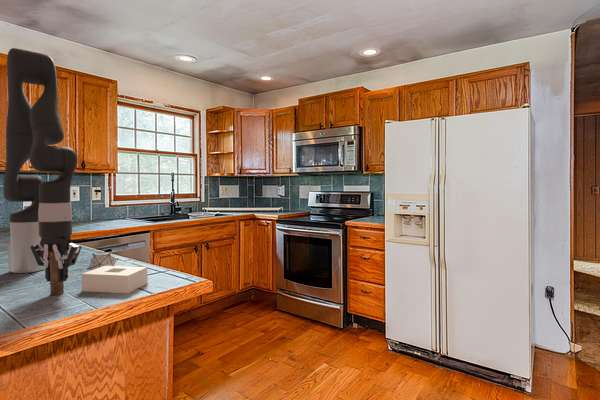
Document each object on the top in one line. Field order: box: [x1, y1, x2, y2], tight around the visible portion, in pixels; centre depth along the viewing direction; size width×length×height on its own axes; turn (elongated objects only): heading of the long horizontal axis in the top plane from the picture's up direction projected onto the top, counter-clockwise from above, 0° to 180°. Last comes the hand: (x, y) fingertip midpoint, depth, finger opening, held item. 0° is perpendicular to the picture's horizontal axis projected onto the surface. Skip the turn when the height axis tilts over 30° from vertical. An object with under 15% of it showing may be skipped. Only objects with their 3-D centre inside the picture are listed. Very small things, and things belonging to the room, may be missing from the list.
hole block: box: [81, 265, 149, 294], centre depth 102 cm, size 14×10×5 cm
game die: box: [86, 250, 119, 271], centre depth 114 cm, size 9×8×10 cm
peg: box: [49, 252, 65, 297], centre depth 95 cm, size 3×3×12 cm
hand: (56, 280), depth 95 cm, fingers closed on peg, 3 cm apart
